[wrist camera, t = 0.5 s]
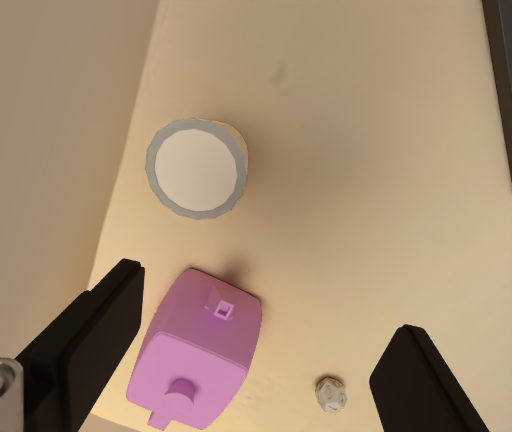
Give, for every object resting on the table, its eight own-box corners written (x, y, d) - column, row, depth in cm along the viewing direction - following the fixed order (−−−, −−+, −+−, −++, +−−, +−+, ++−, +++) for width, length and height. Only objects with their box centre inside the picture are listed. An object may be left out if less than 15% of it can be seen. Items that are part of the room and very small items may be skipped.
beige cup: (169, 170, 26) (132, 194, 19) (195, 98, 23) (162, 97, 17) (236, 203, 26) (222, 236, 20) (268, 136, 24) (265, 149, 17)
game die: (326, 369, 34) (330, 393, 31) (349, 382, 34) (356, 407, 32) (308, 384, 35) (310, 408, 32) (331, 397, 36) (335, 422, 33)
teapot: (195, 231, 28) (153, 299, 18) (287, 276, 29) (291, 360, 20) (141, 344, 35) (90, 436, 25) (217, 377, 36) (195, 476, 26)
